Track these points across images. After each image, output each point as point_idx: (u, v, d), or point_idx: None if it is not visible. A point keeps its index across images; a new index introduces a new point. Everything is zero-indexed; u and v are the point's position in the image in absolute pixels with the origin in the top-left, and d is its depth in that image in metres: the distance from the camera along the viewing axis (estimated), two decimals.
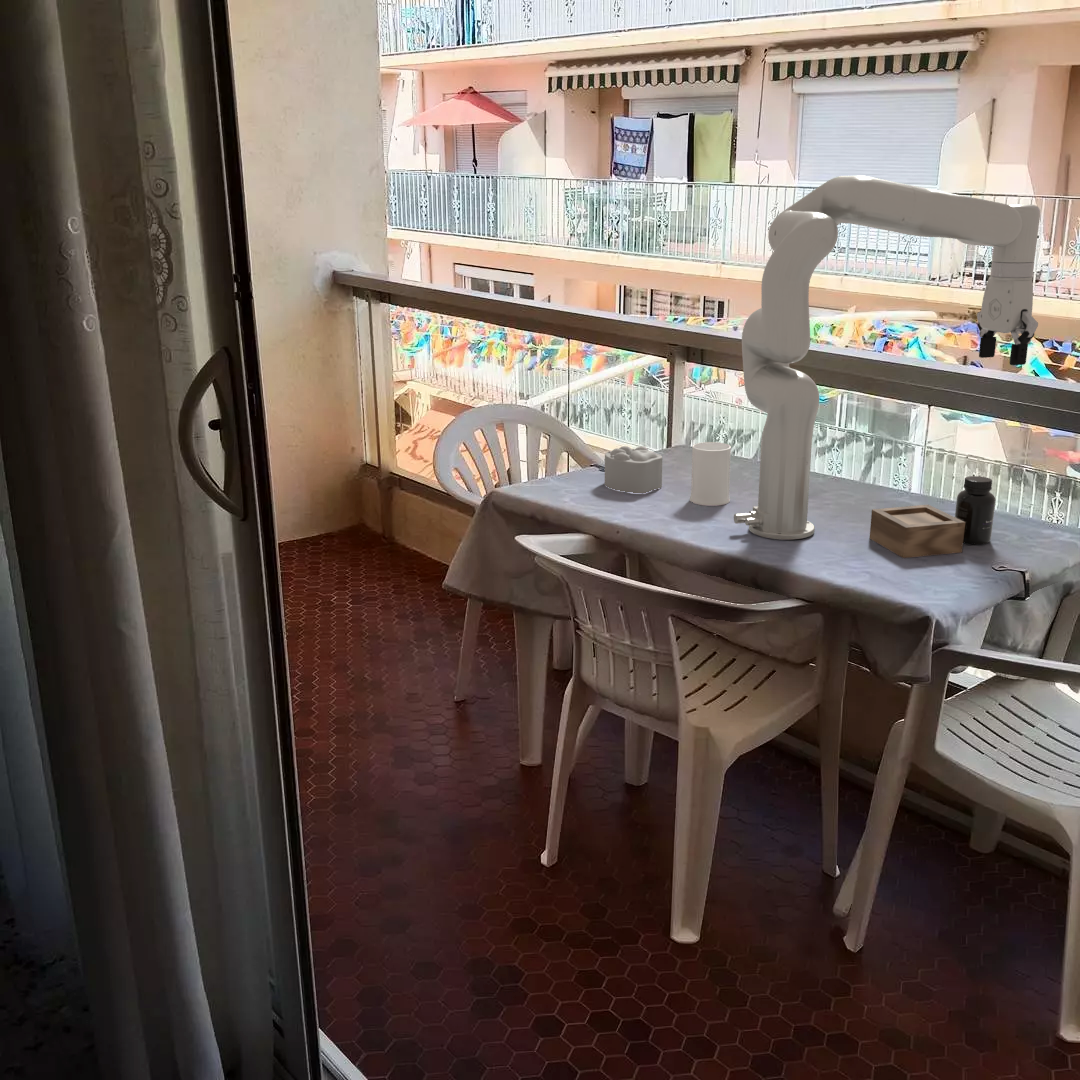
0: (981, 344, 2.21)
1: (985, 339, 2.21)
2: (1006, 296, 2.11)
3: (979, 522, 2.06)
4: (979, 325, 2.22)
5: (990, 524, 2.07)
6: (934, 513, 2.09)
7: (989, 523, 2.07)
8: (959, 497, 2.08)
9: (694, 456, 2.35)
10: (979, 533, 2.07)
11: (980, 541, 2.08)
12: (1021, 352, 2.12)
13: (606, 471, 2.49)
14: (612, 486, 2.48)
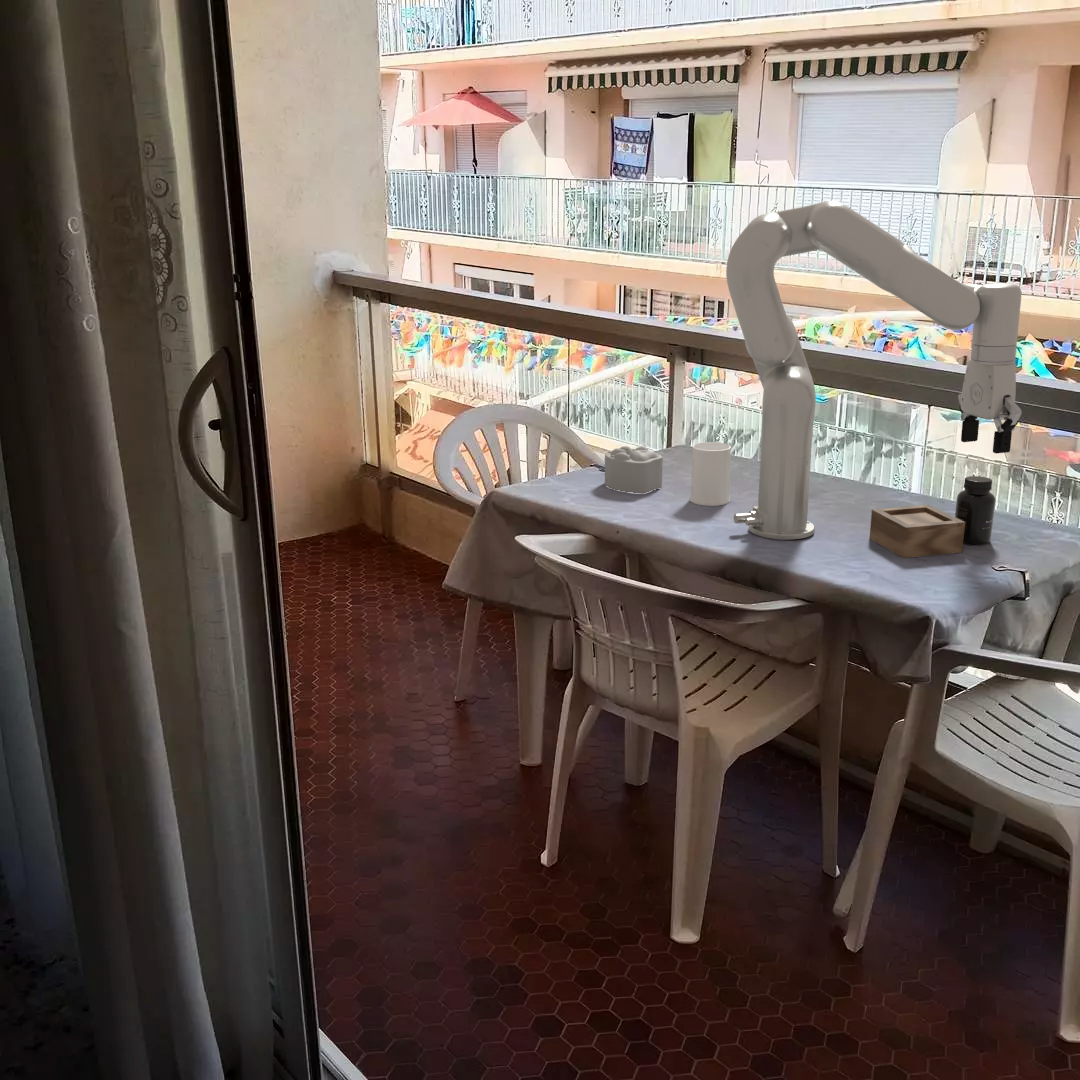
0: (963, 428, 2.09)
1: (967, 423, 2.08)
2: (987, 381, 1.98)
3: (979, 522, 2.06)
4: (961, 408, 2.09)
5: (990, 524, 2.07)
6: (934, 513, 2.09)
7: (989, 523, 2.07)
8: (959, 497, 2.08)
9: (694, 456, 2.35)
10: (979, 533, 2.07)
11: (980, 541, 2.08)
12: (1005, 440, 1.99)
13: (606, 471, 2.49)
14: (612, 486, 2.48)
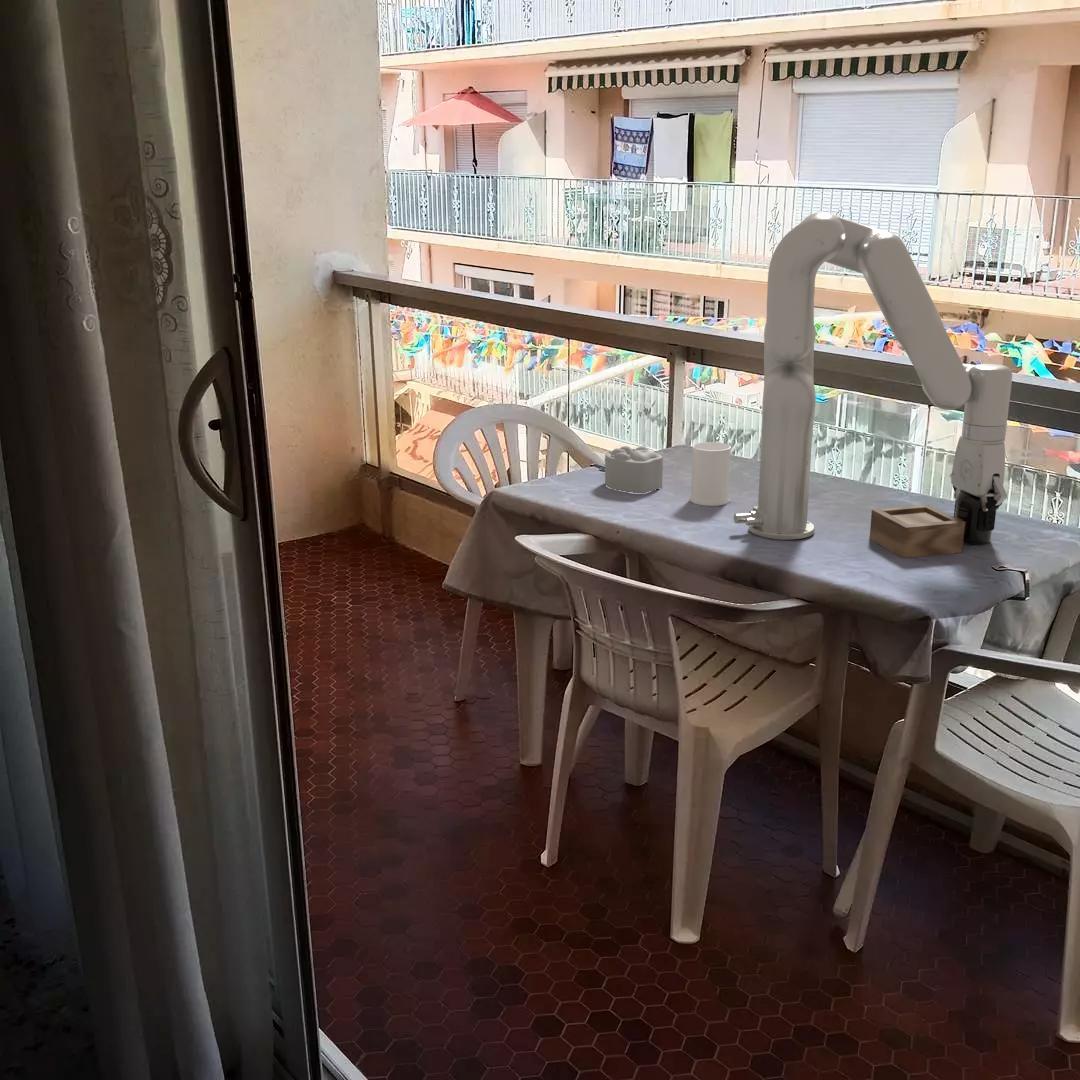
0: None
1: None
2: (977, 459, 2.03)
3: None
4: (954, 486, 2.13)
5: None
6: (934, 513, 2.09)
7: None
8: (959, 497, 2.08)
9: (694, 456, 2.35)
10: (980, 533, 2.07)
11: (980, 541, 2.08)
12: (989, 519, 2.05)
13: (606, 471, 2.49)
14: (612, 486, 2.48)
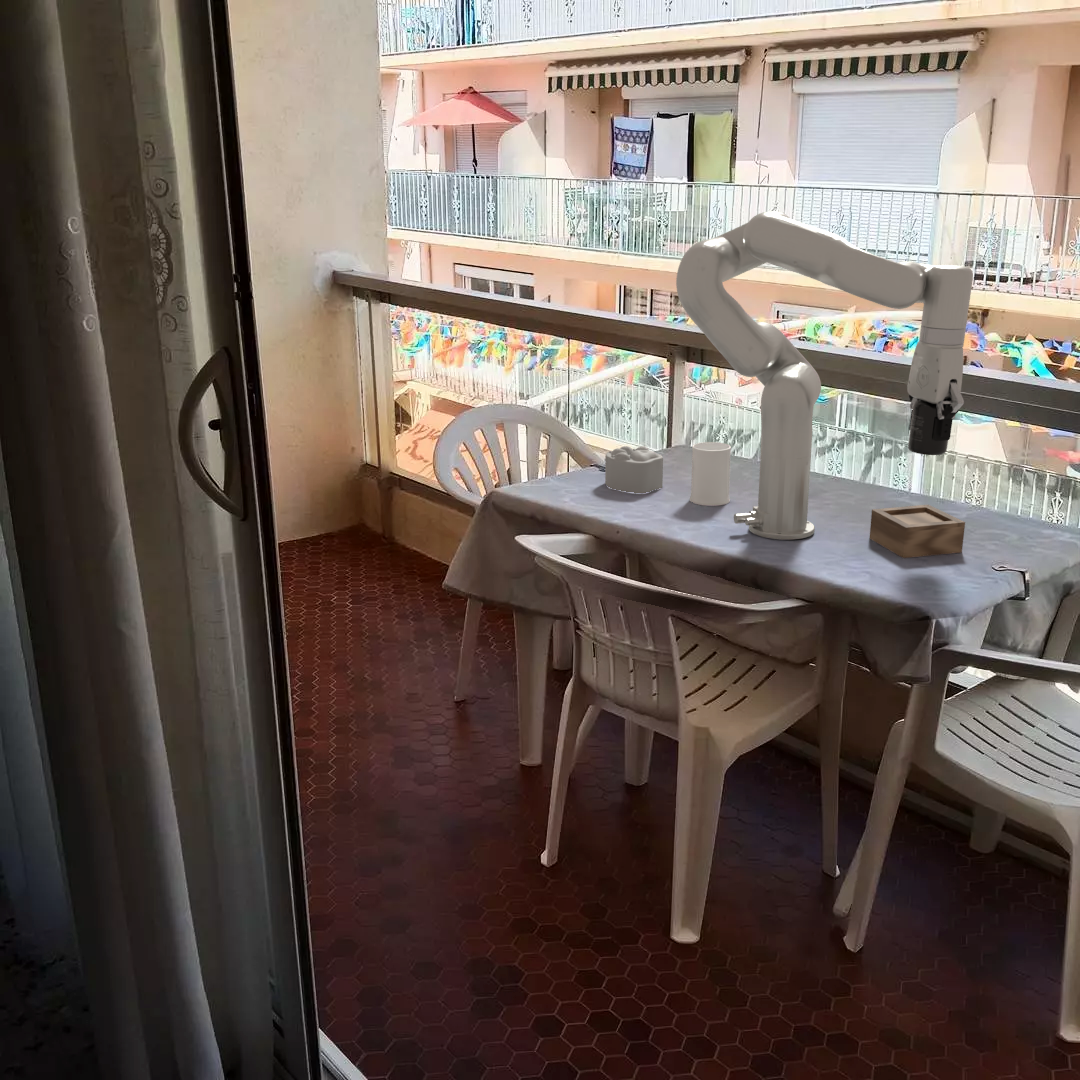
0: None
1: None
2: (934, 364, 1.95)
3: None
4: (910, 396, 2.05)
5: None
6: (934, 513, 2.09)
7: None
8: (915, 405, 2.00)
9: (694, 456, 2.35)
10: (935, 443, 1.99)
11: (936, 451, 2.00)
12: (945, 427, 1.97)
13: (607, 471, 2.49)
14: (613, 486, 2.48)
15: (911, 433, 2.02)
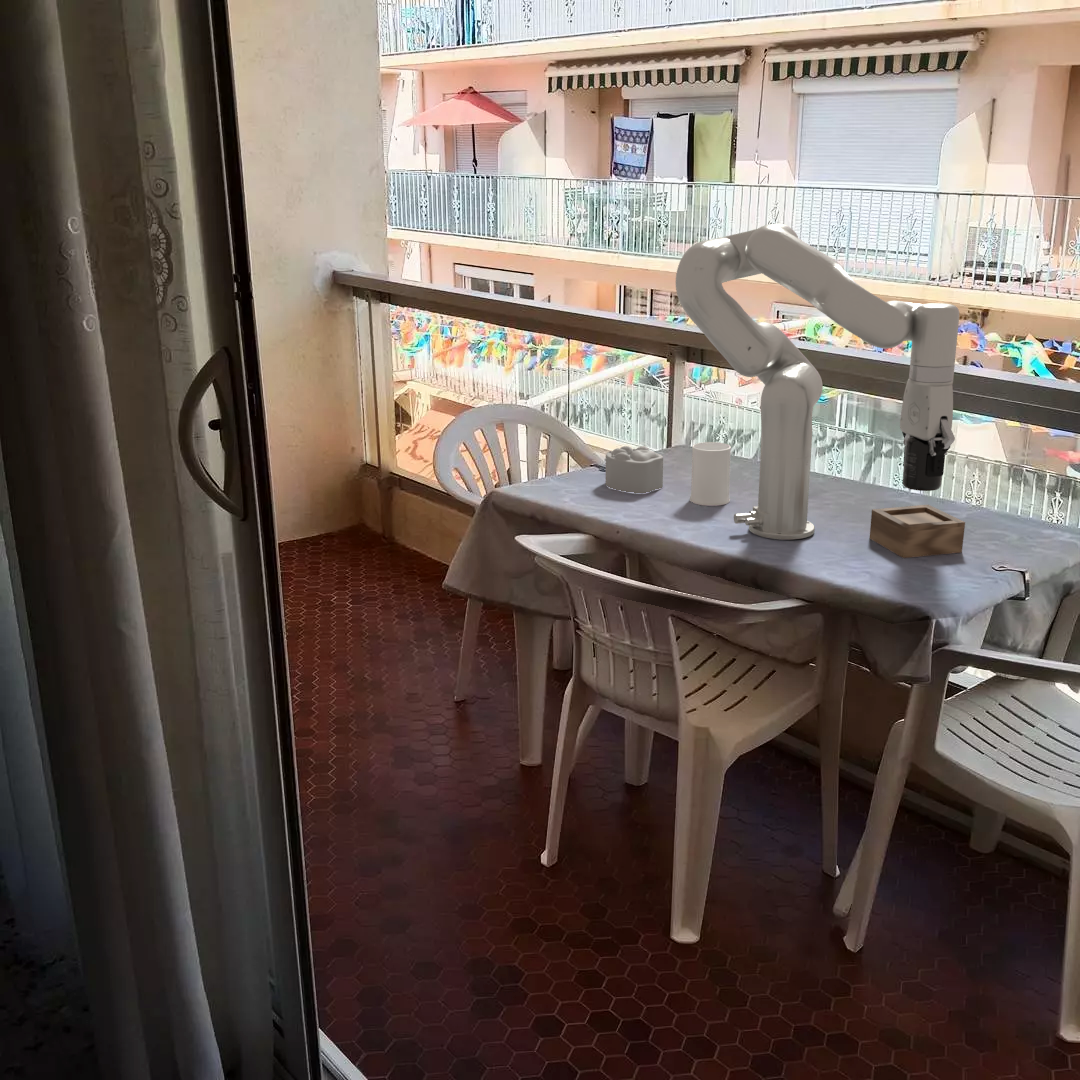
0: None
1: None
2: (924, 402, 1.96)
3: None
4: (903, 432, 2.07)
5: None
6: (934, 513, 2.09)
7: None
8: (908, 442, 2.02)
9: (694, 456, 2.35)
10: (929, 479, 2.01)
11: (929, 487, 2.01)
12: (937, 464, 1.99)
13: (607, 471, 2.49)
14: (613, 486, 2.48)
15: (905, 469, 2.03)
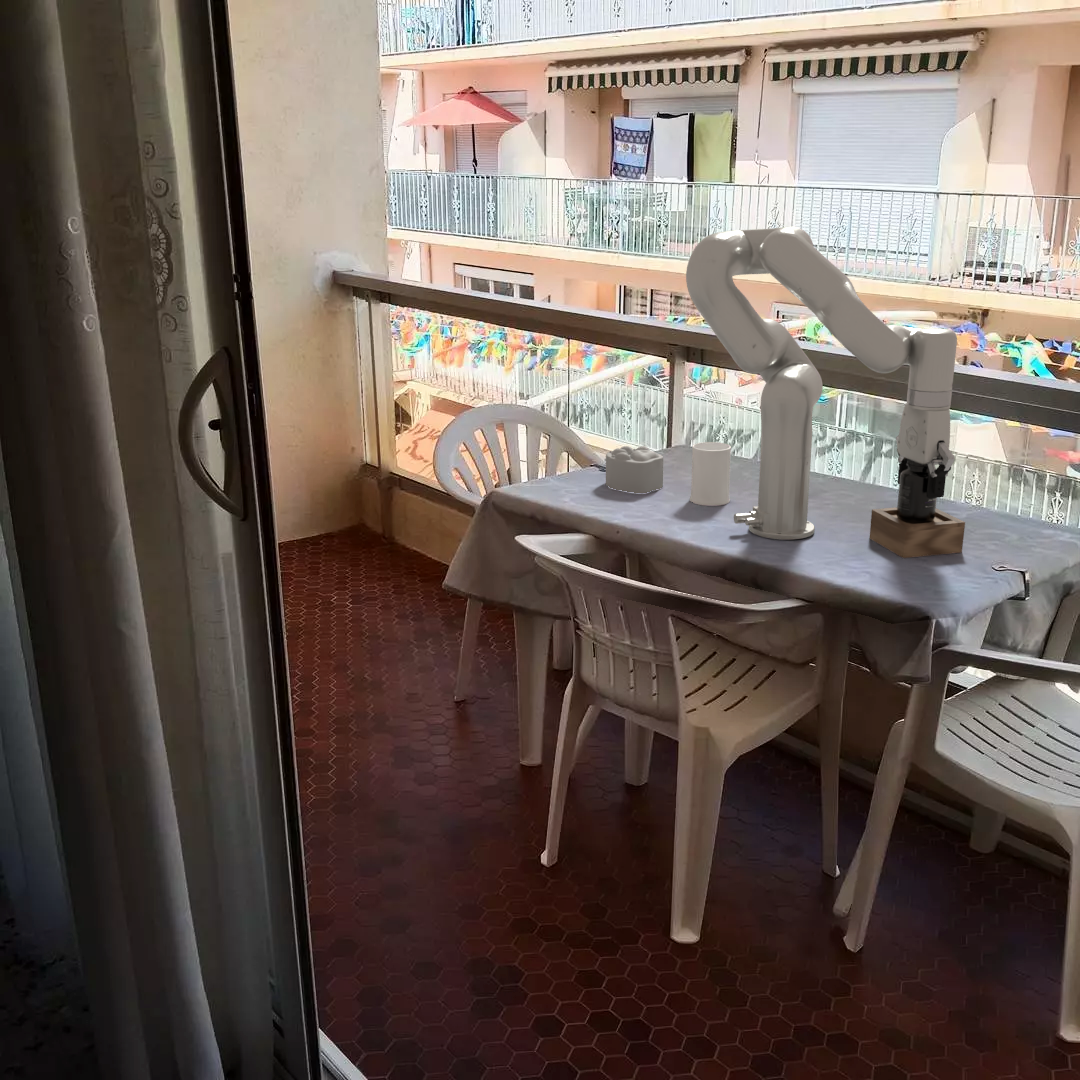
0: (900, 471, 2.08)
1: (904, 465, 2.08)
2: (922, 426, 1.98)
3: (922, 500, 2.02)
4: None
5: (933, 502, 2.03)
6: None
7: (932, 501, 2.03)
8: (902, 475, 2.04)
9: (694, 456, 2.35)
10: (922, 512, 2.03)
11: (923, 520, 2.04)
12: (938, 485, 1.99)
13: (607, 471, 2.49)
14: (613, 486, 2.48)
15: (899, 502, 2.06)
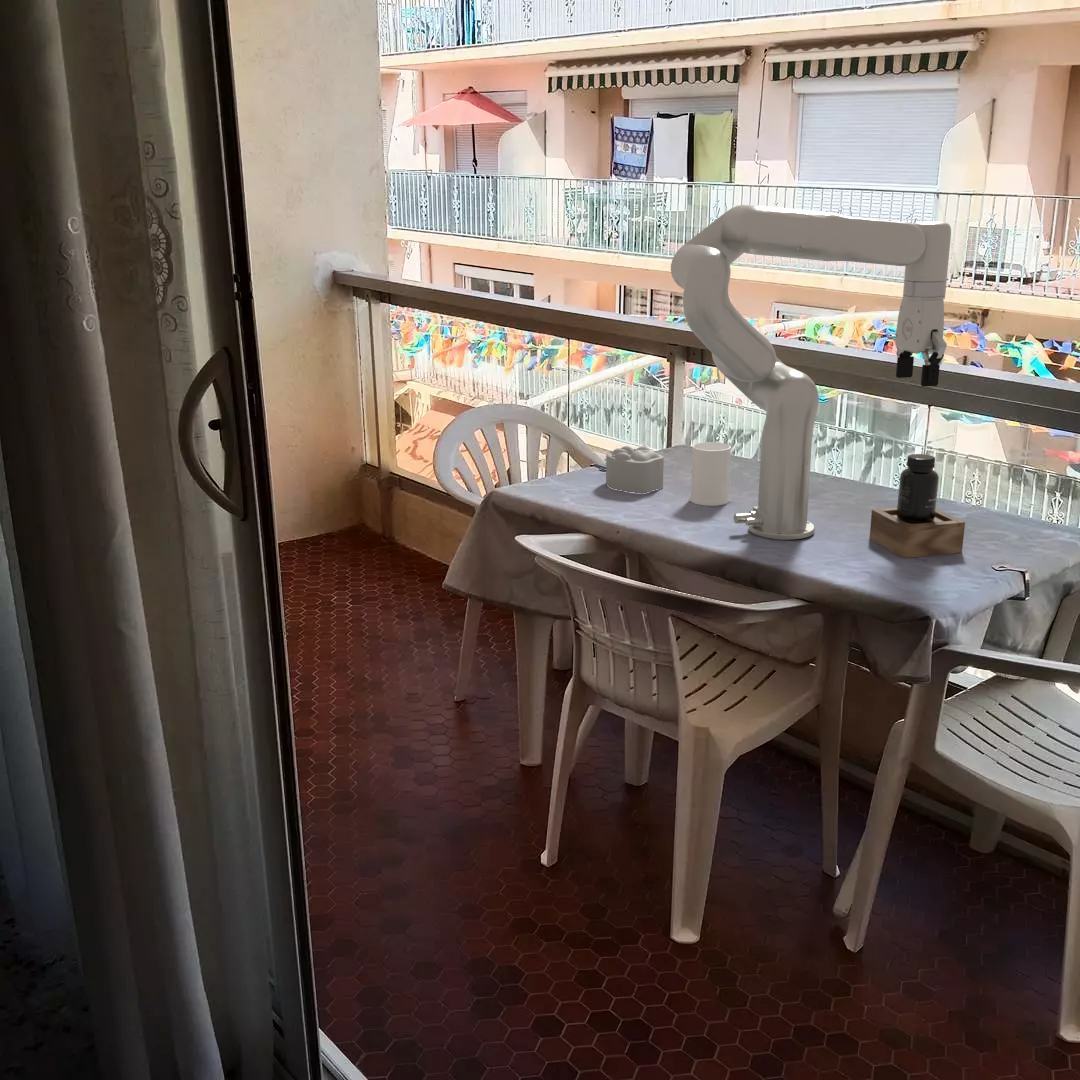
0: (898, 364, 2.16)
1: (902, 359, 2.16)
2: (916, 316, 2.06)
3: (922, 500, 2.02)
4: None
5: (933, 503, 2.03)
6: None
7: (932, 502, 2.03)
8: (902, 475, 2.04)
9: (694, 456, 2.35)
10: (922, 512, 2.03)
11: (923, 520, 2.04)
12: (932, 373, 2.06)
13: (607, 471, 2.49)
14: (613, 486, 2.48)
15: (899, 502, 2.06)
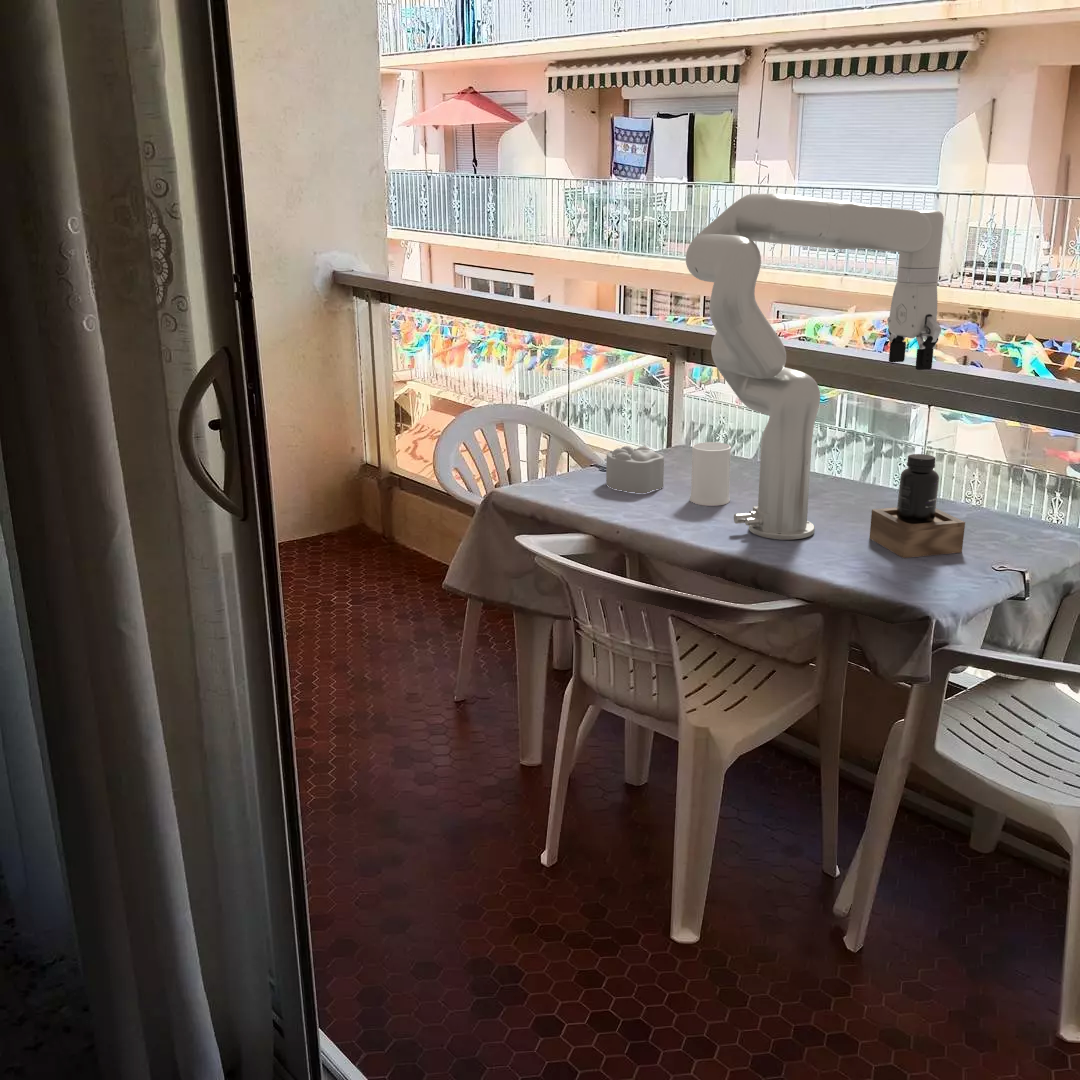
0: (891, 349, 2.22)
1: (894, 344, 2.22)
2: (911, 301, 2.12)
3: (922, 500, 2.02)
4: (889, 330, 2.23)
5: (933, 503, 2.03)
6: None
7: (932, 502, 2.03)
8: (902, 475, 2.04)
9: (694, 456, 2.35)
10: (922, 512, 2.03)
11: (923, 520, 2.04)
12: (926, 357, 2.13)
13: (608, 471, 2.50)
14: (613, 486, 2.48)
15: (899, 502, 2.06)
